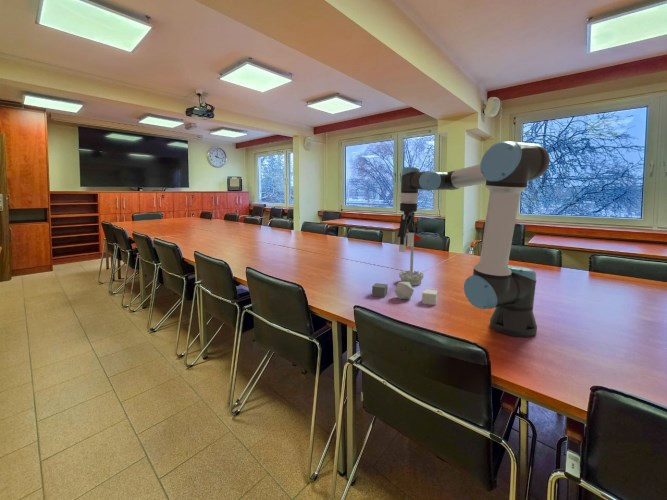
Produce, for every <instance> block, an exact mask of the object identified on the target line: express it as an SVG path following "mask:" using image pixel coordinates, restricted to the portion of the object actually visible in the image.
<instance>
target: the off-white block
mask: <svg viewBox="0 0 667 500" xmlns="http://www.w3.org/2000/svg"><path fill="white" fill-rule="evenodd" d="M438 292H439V291H438V290H434V289H426V288H425V289H424V290H423V291H422V294H421V296H422V297H421V304H424V305H425V304H426V305H433V306H436V305H437V303H438V297H439V296H438V294H439V293H438Z"/></svg>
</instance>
